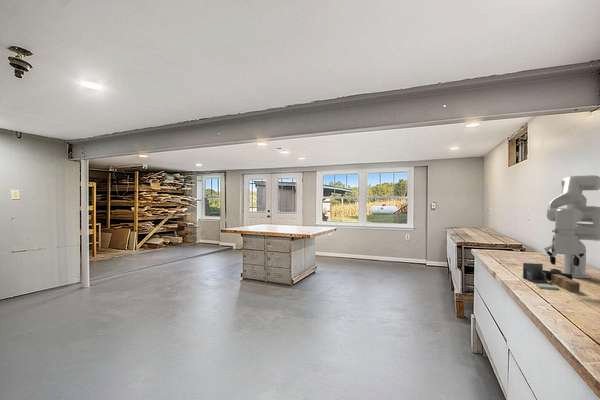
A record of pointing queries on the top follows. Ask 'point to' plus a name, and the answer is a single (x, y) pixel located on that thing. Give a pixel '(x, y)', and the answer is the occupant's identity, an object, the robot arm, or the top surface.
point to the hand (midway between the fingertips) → (564, 264)
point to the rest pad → (547, 286)
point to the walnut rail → (565, 283)
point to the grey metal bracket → (534, 272)
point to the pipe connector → (556, 271)
